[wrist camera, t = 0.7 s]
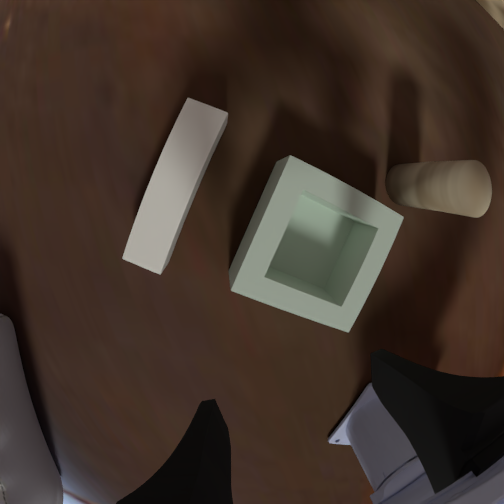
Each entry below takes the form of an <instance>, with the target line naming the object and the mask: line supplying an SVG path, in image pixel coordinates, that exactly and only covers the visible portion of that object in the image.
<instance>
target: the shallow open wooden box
mask: <svg viewBox="0 0 504 504" xmlns="http://www.w3.org/2000/svg"><path fill="white" fill-rule="evenodd" d="M476 1H477V2H478V3H479V4H480V5H481V6H482V7H483V8H484V9H485V10H486V11H487V12H488V13H489V14H490V15H491V16H492V17H493V18H494V19H495V20H496V21H497V22H498V24H499V25H500V26H501V27H502V28H503V29H504V0H476Z"/></svg>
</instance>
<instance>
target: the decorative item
mask: <svg viewBox="0 0 504 504" xmlns="http://www.w3.org/2000/svg"><path fill="white" fill-rule="evenodd" d="M0 504H63V487H62V481H61V477H60V474H59V472H58V469H57V467H56V465H55V463H54V460H53V458H52V456H51V453H50V451H49V449H48V446H47V444H46V441H45V439H44V436H43V433H42V430H41V428H40V425H39V422H38V419H37V416H36V413H35V410H34V407H33V404H32V401H31V397H30V394H29V390H28V387H27V383H26V379H25V375H24V371H23V367H22V362H21V358H20V353H19V349H18V343H17V338H16V333H15V329H14V326H13V323H12V321H11V320H10V318H9V317H7V316H5V315H3V314H0Z"/></svg>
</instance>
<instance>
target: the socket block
mask: <svg viewBox="0 0 504 504" xmlns="http://www.w3.org/2000/svg"><path fill="white" fill-rule="evenodd" d="M403 218H404V217H403V216H401V215H399V214H398V213H396V212H394V211H393V210H391V209H389V208H388V207H386V206H384V205H383V204H381V203H379V202H378V201H376V200H374V199H373V198H371V197H369V196H367V195H366V194H364V193H362V192H360V191H359V190H357V189H355V188H353V187H351V186H349V185H348V184H346V183H344V182H342V181H340V180H338V179H337V178H335V177H333V176H331V175H329V174H327V173H325V172H323V171H321V170H319V169H317V168H315V167H313V166H311V165H309V164H307V163H305V162H303V161H301V160H299V159H297V158H295V157H293V156H291V155H290V156H287V157H285V158H283V159H281V160H279V161H277V162H276V164H275V166H274V168H273V171H272V173H271V175H270V177H269V180H268V182H267V184H266V186H265V189H264V191H263V193H262V195H261V198H260V200H259V202H258V205H257V207H256V209H255V211H254V214H253V216H252V218H251V220H250V223H249V225H248V227H247V230H246V232H245V234H244V237H243V239H242V241H241V243H240V246H239V248H238V250H237V253H236V255H235V257H234V260H233V262H232V264H231V267H230V269H229V279H230V289H231V291H233V292H236V293H239V294H241V295H244V296H247V297H249V298H252V299H255V300H257V301H260V302H263V303H265V304H268V305H271V306H274V307H276V308H279V309H282V310H285V311H288V312H290V313H293V314H296V315H299V316H302V317H305V318H307V319H310V320H313V321H316V322H319V323H322V324H325V325H328V326H331V327H334V328H337V329H340V330H343V331H346V332H349V331H350V329H351V327H352V325H353V324H354V322H355V320H356V318H357V316H358V314H359V312H360V311H361V309H362V307H363V305H364V303H365V301H366V299H367V297H368V295H369V293H370V291H371V289H372V287H373V285H374V283H375V281H376V279H377V277H378V275H379V273H380V270H381V268H382V266H383V264H384V262H385V260H386V257H387V255H388V253H389V251H390V249H391V246H392V244H393V242H394V239H395V237H396V235H397V232H398V230H399V228H400V225H401V223H402V220H403Z"/></svg>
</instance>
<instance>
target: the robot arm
mask: <svg viewBox="0 0 504 504" xmlns="http://www.w3.org/2000/svg"><path fill="white" fill-rule="evenodd" d="M371 374H372V383H369V384H368V385H367V386H366V388H365V389H364V391H363V392H362V394H361V395H360V397H359V398H358V399H357V401H356V402H355V404H354V405H353V406H352V408H351V409H350V411H349V412H348V413H347V415H346V416H345V417H344V419H343V420H342V421H341V423H340V424H339V425H338V426H337V428H336V429H335V430H334V432H333V433H332V434H331V435H330V437H329V438H328V442H329V443H332V444H344V445H351V446H352V448H353V450H354V452H355V454H356V456H357V458H358V460H359V462H360V464H361V466H362V468H363V470H364V472H365V474H366V476H367V478H368V480H369V482H370V484H371V486H372V488H373V490H374V492H375V493H373V494H372V495H370V498H371V500H372V502H373V504H504V376H503V377H489V378H481V377H467V376H459V375H453V374H448V373H444V372H440V371H436V370H433V369H430V368H427V367H424V366H421V365H418V364H416V363H413V362H411V361H408V360H406V359H404V358H402V357H399V356H397V355H395V354H393V353H391V352H388V351H386V350H384V349H380V350H378V351H375V352H373V353H371ZM116 504H233V500H232V492H231V445H230V438H229V431H228V427H227V425H226V423H225V421H224V419H223V416H222V414H221V412H220V410H219V407H218V405H217V403H216V401H215V399H212V400H207V401H202V402H201V403H200V405H199V407H198V409H197V411H196V414H195V416H194V418H193V420H192V422H191V424H190V425H189V427H188V429H187V431H186V433H185V435H184V436H183V438H182V440H181V441H180V443H179V444H178V446H177V447H176V449H175V450H174V452H173V453H172V454H171V456H170V457H169V458H168V460H167V461H166V462H165V463H164V464H163V466H162V467H161V468H160V469H159V470H158V471H157V472H156V473H155V474H154V475H153V476H152V477H151V478H150V479H149V480H147V481H146V482H145V483H144V484H143V485H141V486H140V487H139V488H138V489H136V490H135V491H133V492H132V493H130V494H129V495H127V496H126V497H124V498H123V499H121V500H119V501H118V502H117V503H116Z"/></svg>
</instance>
